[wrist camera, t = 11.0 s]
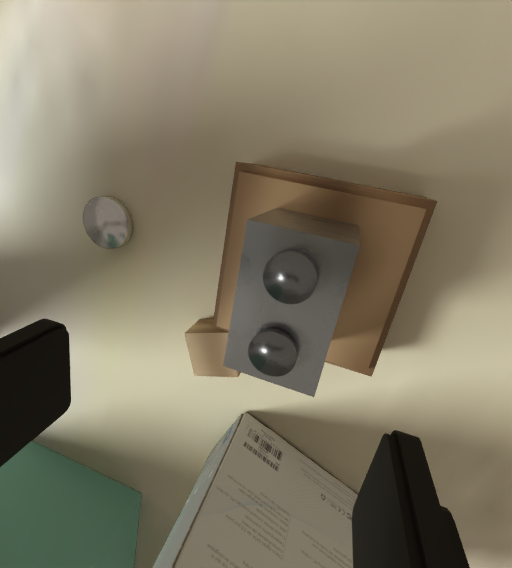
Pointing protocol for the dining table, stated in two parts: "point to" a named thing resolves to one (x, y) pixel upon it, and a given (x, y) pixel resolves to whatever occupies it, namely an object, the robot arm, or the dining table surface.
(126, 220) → the chrome dome
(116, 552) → the box
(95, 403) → the dining table surface
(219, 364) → the oak offcut
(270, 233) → the block
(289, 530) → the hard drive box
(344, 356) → the tray
